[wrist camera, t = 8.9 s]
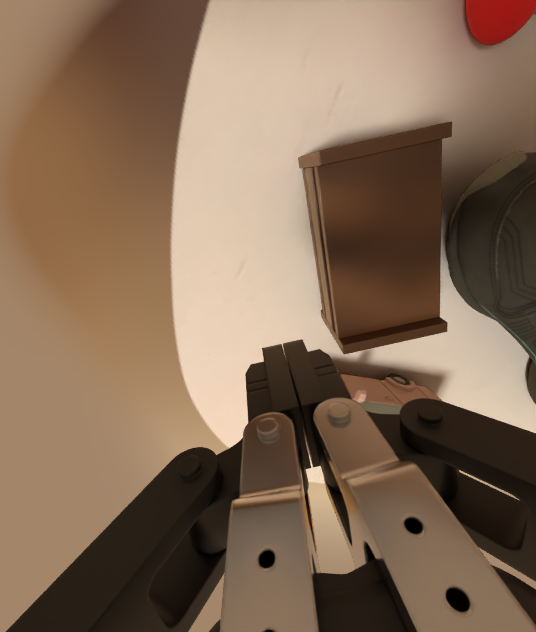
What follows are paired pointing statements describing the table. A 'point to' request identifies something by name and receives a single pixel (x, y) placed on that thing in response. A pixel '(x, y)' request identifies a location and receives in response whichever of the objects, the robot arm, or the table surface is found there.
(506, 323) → the running shoe
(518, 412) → the table surface
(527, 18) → the toy figure
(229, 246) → the table surface
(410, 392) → the toy car
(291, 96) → the table surface
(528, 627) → the robot arm
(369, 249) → the brown wooden cabinet
